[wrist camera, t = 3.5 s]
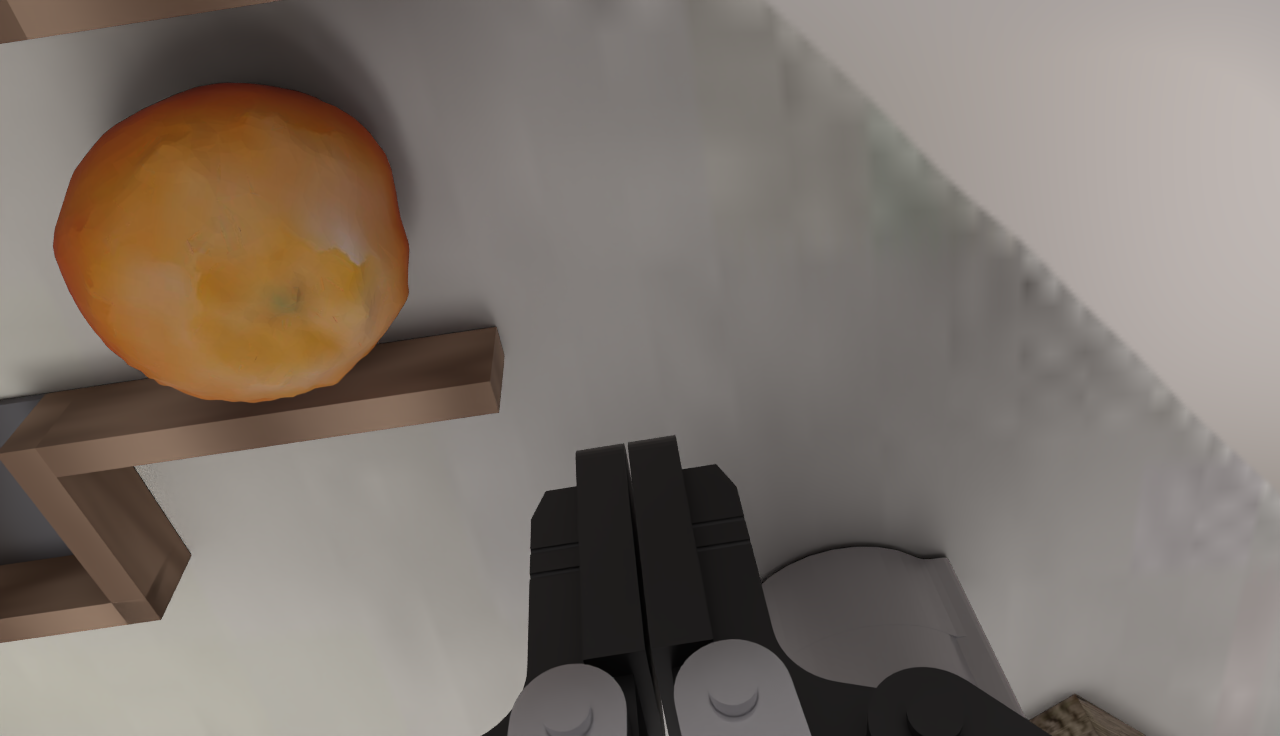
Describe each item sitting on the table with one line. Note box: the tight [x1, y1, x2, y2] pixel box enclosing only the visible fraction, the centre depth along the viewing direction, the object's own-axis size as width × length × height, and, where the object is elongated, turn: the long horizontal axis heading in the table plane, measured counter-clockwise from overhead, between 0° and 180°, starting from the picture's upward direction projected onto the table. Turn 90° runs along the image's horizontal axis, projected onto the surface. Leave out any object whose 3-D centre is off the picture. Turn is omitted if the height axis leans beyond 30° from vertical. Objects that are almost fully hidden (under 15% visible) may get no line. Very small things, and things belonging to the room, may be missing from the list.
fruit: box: [53, 83, 409, 403], centre depth 22 cm, size 8×8×8 cm
